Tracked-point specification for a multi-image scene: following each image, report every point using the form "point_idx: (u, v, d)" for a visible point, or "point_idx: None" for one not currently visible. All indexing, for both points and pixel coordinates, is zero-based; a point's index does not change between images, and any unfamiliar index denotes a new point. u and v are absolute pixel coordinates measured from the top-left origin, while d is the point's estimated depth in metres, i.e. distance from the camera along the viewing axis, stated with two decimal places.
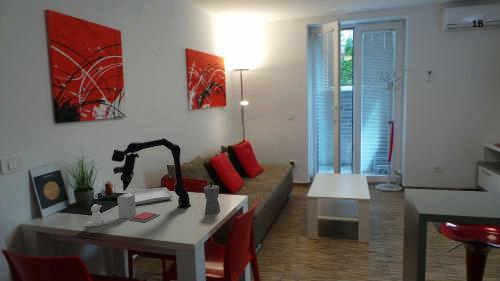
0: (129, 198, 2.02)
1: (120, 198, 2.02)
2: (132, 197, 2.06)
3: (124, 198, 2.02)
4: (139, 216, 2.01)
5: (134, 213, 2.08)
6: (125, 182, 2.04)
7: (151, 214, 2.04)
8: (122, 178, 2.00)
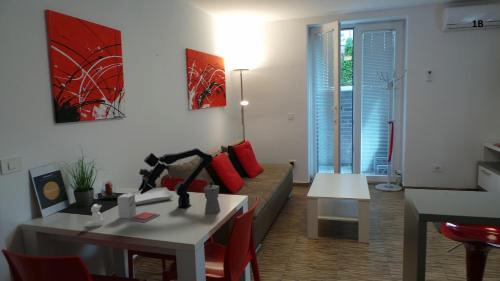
0: (129, 198, 2.02)
1: (120, 198, 2.02)
2: (132, 197, 2.06)
3: (124, 198, 2.02)
4: (139, 216, 2.01)
5: (134, 213, 2.08)
6: (146, 187, 2.04)
7: (151, 214, 2.04)
8: (148, 182, 2.01)
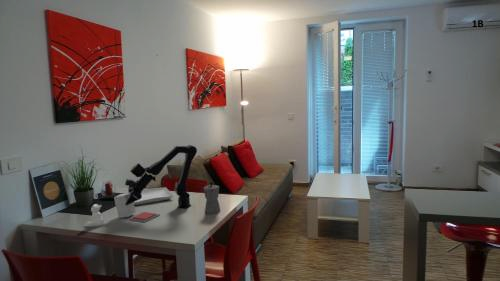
0: (126, 196, 2.03)
1: (117, 198, 2.02)
2: (129, 195, 2.06)
3: (121, 197, 2.02)
4: (139, 216, 2.01)
5: (133, 211, 2.08)
6: (132, 198, 2.02)
7: (151, 214, 2.04)
8: (133, 193, 1.98)
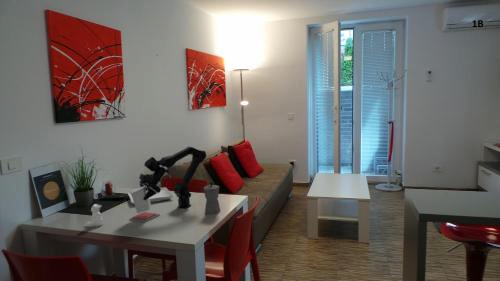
0: (143, 190, 1.98)
1: (134, 193, 1.96)
2: (144, 189, 2.01)
3: (138, 191, 1.97)
4: (139, 216, 2.01)
5: (150, 204, 2.04)
6: (150, 192, 1.98)
7: (151, 214, 2.04)
8: (153, 187, 1.95)
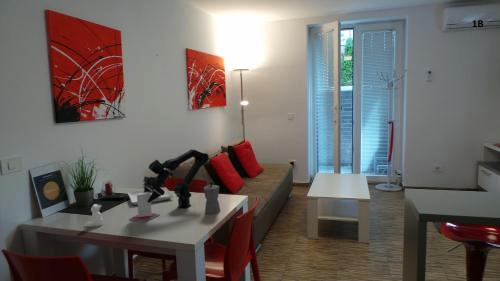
0: (150, 195, 2.00)
1: (140, 196, 1.98)
2: (150, 194, 2.03)
3: (145, 195, 1.99)
4: None
5: (151, 211, 2.05)
6: (154, 195, 1.99)
7: (151, 214, 2.04)
8: (157, 190, 1.97)
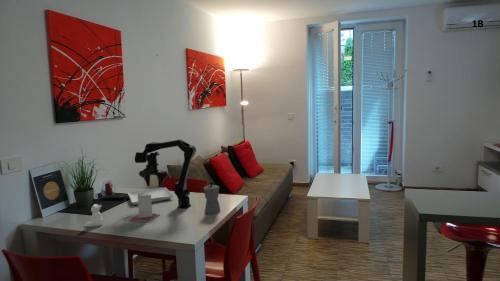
0: (150, 196, 2.00)
1: (141, 197, 1.97)
2: None
3: (146, 196, 1.98)
4: None
5: None
6: (160, 179, 2.18)
7: None
8: (162, 175, 2.15)
